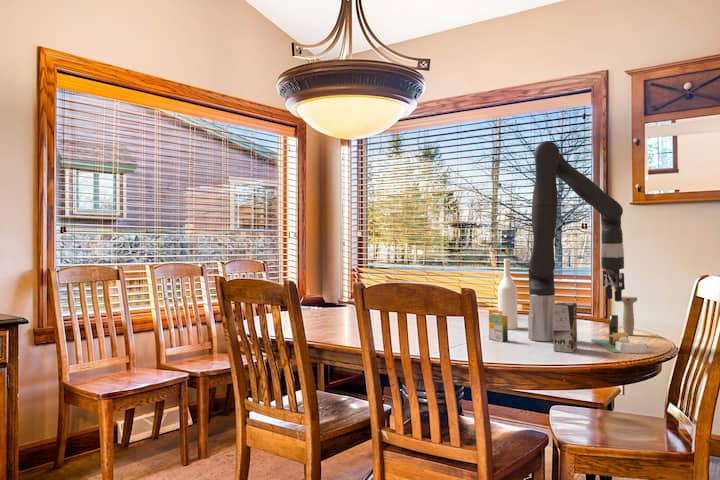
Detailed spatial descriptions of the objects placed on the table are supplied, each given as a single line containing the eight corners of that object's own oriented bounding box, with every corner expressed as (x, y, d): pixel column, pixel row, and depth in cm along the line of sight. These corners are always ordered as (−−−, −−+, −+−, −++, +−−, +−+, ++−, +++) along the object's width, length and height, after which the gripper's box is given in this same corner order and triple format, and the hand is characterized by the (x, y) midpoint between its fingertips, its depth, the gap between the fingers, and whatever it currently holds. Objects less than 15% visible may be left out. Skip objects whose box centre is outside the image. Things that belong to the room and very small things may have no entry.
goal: (620, 352, 182) (620, 344, 182) (615, 350, 186) (615, 341, 186) (647, 353, 181) (647, 344, 181) (641, 350, 186) (641, 341, 186)
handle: (637, 336, 211) (637, 298, 211) (619, 335, 214) (619, 297, 214) (637, 334, 215) (637, 296, 215) (619, 333, 218) (619, 296, 218)
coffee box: (572, 353, 183) (572, 305, 183) (553, 351, 186) (552, 304, 186) (577, 348, 190) (577, 302, 190) (558, 346, 194) (558, 301, 194)
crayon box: (508, 341, 204) (508, 310, 204) (502, 342, 203) (502, 311, 203) (494, 338, 211) (494, 308, 211) (488, 339, 209) (488, 309, 209)
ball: (620, 347, 188) (620, 337, 188) (616, 345, 192) (616, 335, 192) (631, 347, 188) (631, 337, 188) (627, 345, 192) (627, 335, 192)
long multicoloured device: (605, 340, 201) (604, 314, 201) (619, 340, 200) (618, 314, 200) (613, 344, 193) (613, 318, 193) (628, 344, 192) (627, 318, 192)
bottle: (519, 329, 230) (519, 259, 230) (500, 329, 230) (500, 259, 230) (514, 326, 238) (513, 258, 238) (496, 326, 238) (495, 258, 238)
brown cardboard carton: (611, 344, 194) (611, 337, 194) (609, 343, 196) (608, 336, 196) (627, 344, 194) (627, 337, 194) (624, 343, 196) (624, 336, 196)
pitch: (614, 352, 182) (614, 351, 182) (591, 340, 204) (591, 339, 204) (647, 353, 181) (647, 351, 181) (620, 340, 203) (620, 339, 203)
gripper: (595, 255, 206) (596, 298, 206) (609, 256, 192) (610, 302, 192) (615, 255, 206) (616, 297, 206) (631, 256, 192) (632, 302, 192)
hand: (613, 300), depth 199 cm, fingers open, 8 cm apart
